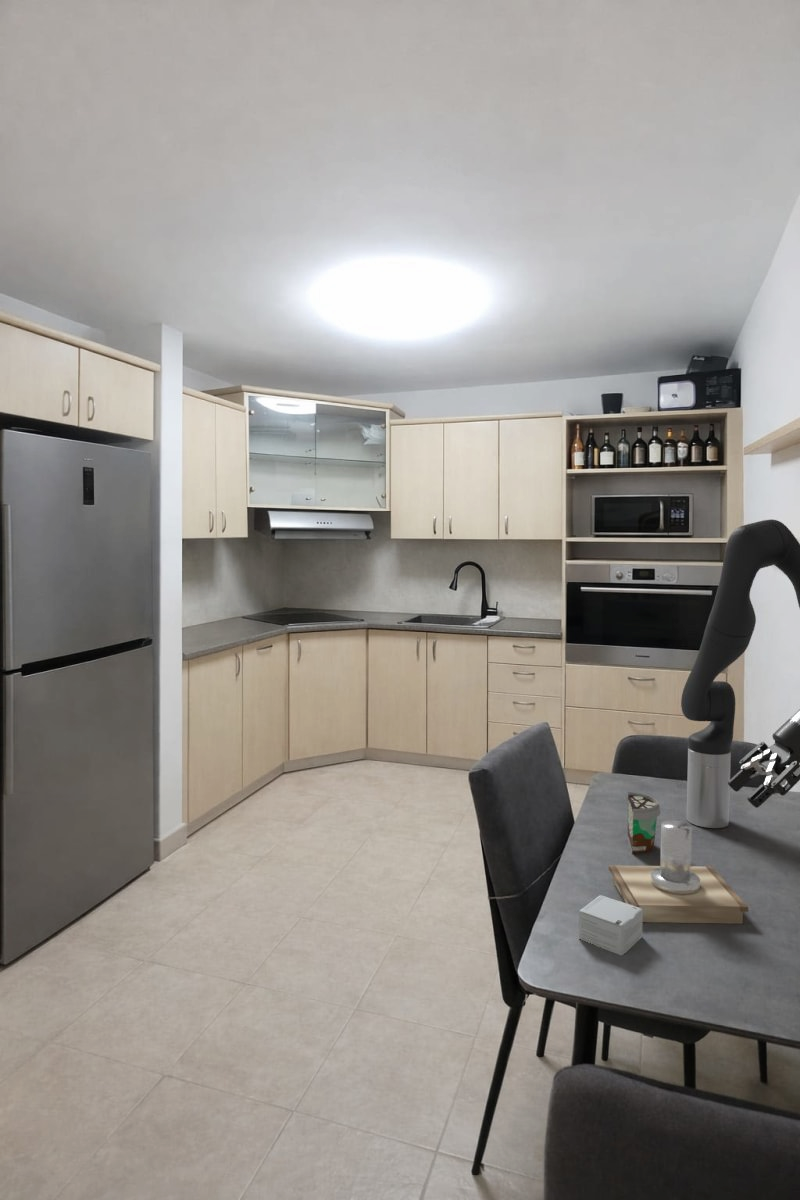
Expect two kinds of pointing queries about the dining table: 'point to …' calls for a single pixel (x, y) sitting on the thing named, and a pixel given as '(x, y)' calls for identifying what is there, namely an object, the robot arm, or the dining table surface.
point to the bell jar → (675, 861)
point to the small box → (610, 924)
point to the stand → (679, 897)
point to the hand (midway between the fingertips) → (741, 795)
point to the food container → (642, 822)
